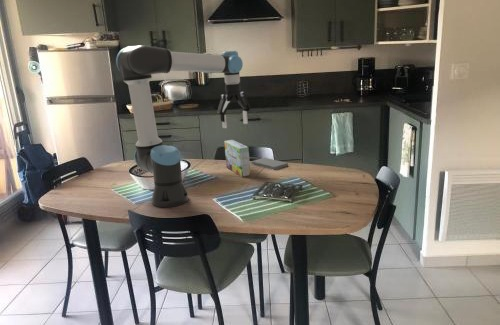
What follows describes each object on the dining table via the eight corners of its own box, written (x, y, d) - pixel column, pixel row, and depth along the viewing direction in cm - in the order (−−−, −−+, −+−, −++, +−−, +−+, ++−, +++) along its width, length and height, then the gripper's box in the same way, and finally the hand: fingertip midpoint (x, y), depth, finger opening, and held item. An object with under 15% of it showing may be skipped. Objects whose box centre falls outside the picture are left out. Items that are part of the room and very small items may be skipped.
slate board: (287, 165, 215) (287, 163, 215) (274, 169, 209) (274, 167, 209) (265, 160, 229) (264, 157, 228) (251, 164, 222) (251, 161, 222)
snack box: (225, 167, 218) (223, 140, 214) (234, 166, 220) (233, 139, 217) (241, 177, 200) (239, 148, 196) (251, 175, 202) (249, 146, 198)
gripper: (246, 80, 208) (249, 121, 214) (207, 85, 193) (211, 129, 199) (256, 81, 203) (258, 122, 209) (216, 86, 188) (220, 130, 193)
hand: (235, 125), depth 204 cm, fingers open, 13 cm apart
